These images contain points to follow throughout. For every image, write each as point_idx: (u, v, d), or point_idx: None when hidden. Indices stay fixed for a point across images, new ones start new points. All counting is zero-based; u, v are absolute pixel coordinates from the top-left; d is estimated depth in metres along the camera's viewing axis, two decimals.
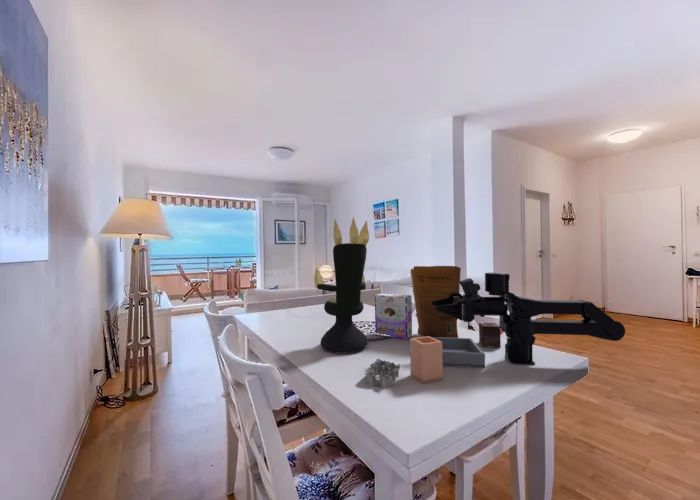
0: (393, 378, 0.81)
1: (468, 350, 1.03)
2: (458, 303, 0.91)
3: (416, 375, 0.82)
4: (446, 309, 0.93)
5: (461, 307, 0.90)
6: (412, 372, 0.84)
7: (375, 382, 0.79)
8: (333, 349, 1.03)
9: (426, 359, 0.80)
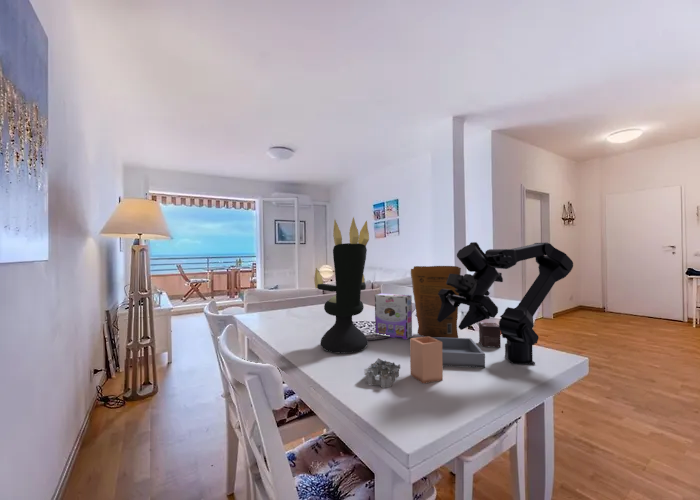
0: (393, 378, 0.81)
1: (468, 350, 1.03)
2: (475, 307, 0.81)
3: (416, 375, 0.82)
4: (469, 321, 0.81)
5: (481, 309, 0.80)
6: (412, 372, 0.84)
7: (375, 382, 0.79)
8: (333, 349, 1.03)
9: (426, 359, 0.80)
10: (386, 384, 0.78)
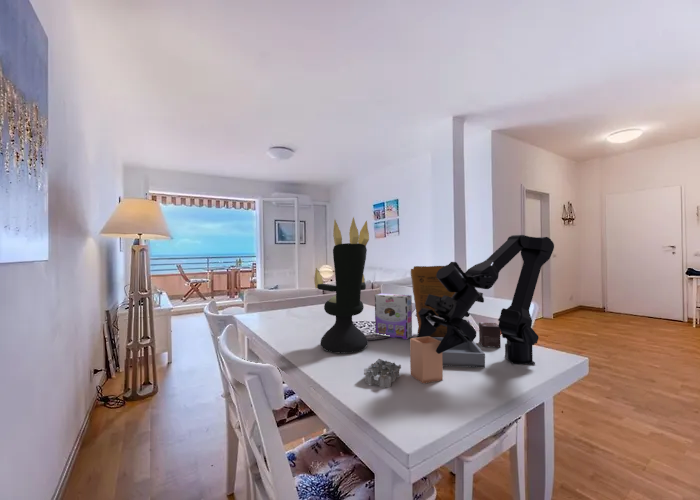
0: (392, 378, 0.81)
1: (468, 350, 1.03)
2: (452, 331, 0.78)
3: (416, 375, 0.82)
4: (447, 345, 0.79)
5: (459, 333, 0.77)
6: (412, 372, 0.84)
7: (374, 382, 0.79)
8: (333, 349, 1.03)
9: (426, 359, 0.80)
10: (385, 384, 0.78)
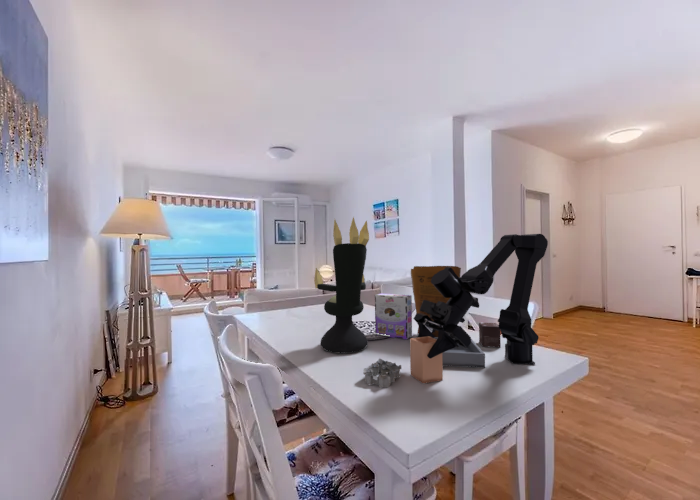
0: (392, 378, 0.81)
1: (468, 350, 1.03)
2: (443, 336, 0.79)
3: (416, 375, 0.82)
4: (438, 349, 0.80)
5: (450, 337, 0.78)
6: (412, 372, 0.84)
7: (373, 382, 0.80)
8: (333, 349, 1.03)
9: (426, 359, 0.80)
10: (384, 384, 0.78)
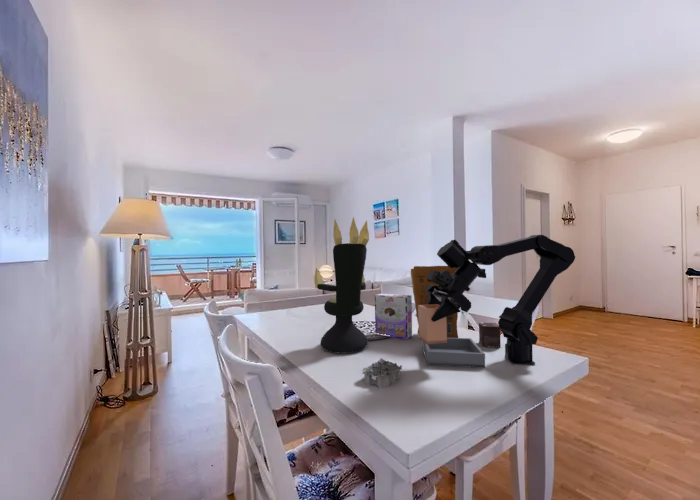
0: (391, 379, 0.81)
1: (468, 350, 1.03)
2: (445, 301, 0.86)
3: (422, 337, 0.91)
4: (441, 314, 0.87)
5: (451, 302, 0.85)
6: (420, 335, 0.93)
7: (372, 381, 0.80)
8: (333, 349, 1.03)
9: (430, 322, 0.88)
10: (383, 384, 0.78)
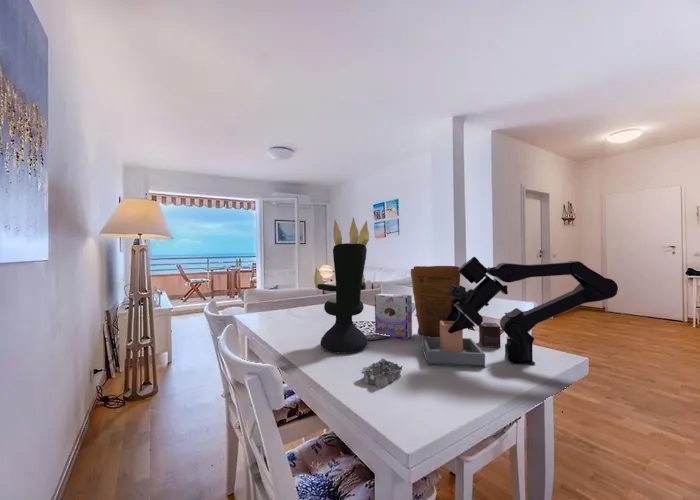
0: (391, 379, 0.81)
1: (468, 350, 1.03)
2: (460, 315, 0.92)
3: None
4: (457, 326, 0.93)
5: (465, 317, 0.91)
6: (440, 349, 1.01)
7: (371, 381, 0.80)
8: (333, 349, 1.03)
9: (446, 338, 0.96)
10: (381, 384, 0.78)
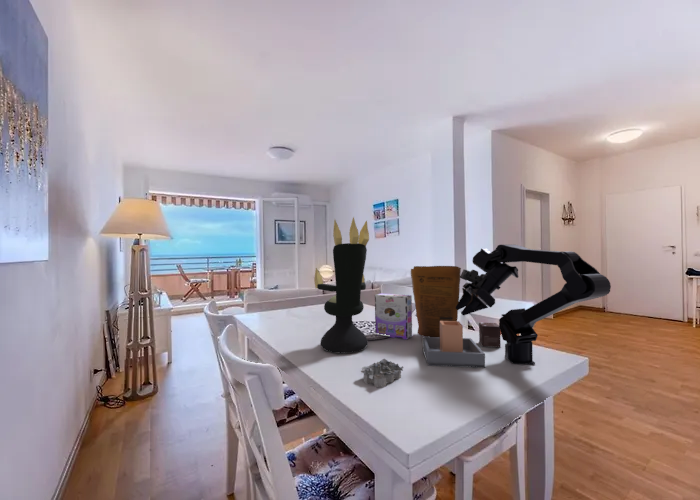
0: (390, 379, 0.80)
1: (468, 350, 1.03)
2: (474, 297, 0.96)
3: None
4: (470, 308, 0.97)
5: (478, 299, 0.95)
6: (440, 349, 1.01)
7: (370, 380, 0.80)
8: (333, 349, 1.03)
9: (446, 338, 0.96)
10: (379, 384, 0.78)
